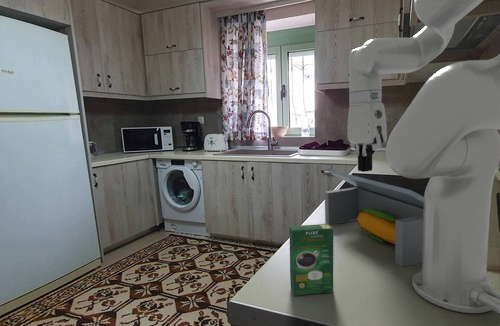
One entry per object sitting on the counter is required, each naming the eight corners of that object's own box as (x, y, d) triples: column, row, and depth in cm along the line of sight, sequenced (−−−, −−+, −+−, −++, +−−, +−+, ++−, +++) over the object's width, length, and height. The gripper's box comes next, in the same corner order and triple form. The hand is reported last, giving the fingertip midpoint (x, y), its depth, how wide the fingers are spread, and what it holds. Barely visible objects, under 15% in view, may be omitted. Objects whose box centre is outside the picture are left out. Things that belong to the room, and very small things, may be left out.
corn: (372, 200, 87) (427, 222, 68) (373, 225, 88) (428, 252, 69) (349, 205, 85) (400, 228, 66) (351, 230, 87) (401, 260, 67)
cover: (446, 214, 65) (448, 210, 65) (409, 194, 62) (411, 190, 62) (357, 187, 95) (358, 184, 95) (328, 172, 91) (329, 169, 91)
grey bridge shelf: (444, 256, 67) (446, 214, 65) (402, 267, 63) (402, 222, 62) (357, 216, 96) (357, 187, 95) (325, 222, 93) (324, 191, 91)
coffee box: (330, 285, 58) (328, 221, 57) (335, 293, 56) (334, 227, 54) (290, 288, 58) (287, 225, 56) (293, 297, 55) (290, 230, 53)
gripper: (400, 96, 68) (398, 173, 71) (358, 100, 82) (358, 165, 85) (373, 97, 66) (372, 177, 69) (335, 101, 80) (336, 168, 83)
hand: (365, 170), depth 77 cm, fingers closed
